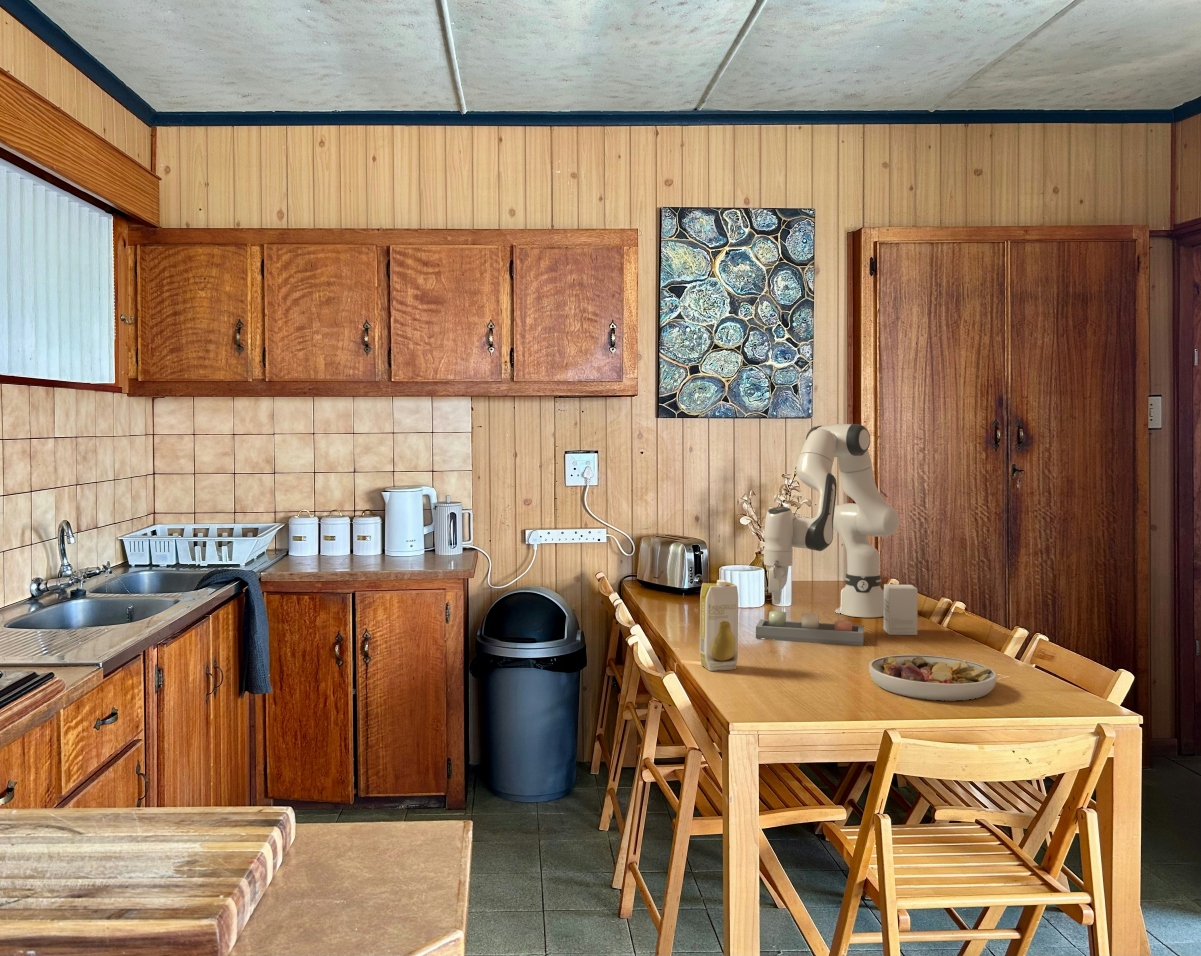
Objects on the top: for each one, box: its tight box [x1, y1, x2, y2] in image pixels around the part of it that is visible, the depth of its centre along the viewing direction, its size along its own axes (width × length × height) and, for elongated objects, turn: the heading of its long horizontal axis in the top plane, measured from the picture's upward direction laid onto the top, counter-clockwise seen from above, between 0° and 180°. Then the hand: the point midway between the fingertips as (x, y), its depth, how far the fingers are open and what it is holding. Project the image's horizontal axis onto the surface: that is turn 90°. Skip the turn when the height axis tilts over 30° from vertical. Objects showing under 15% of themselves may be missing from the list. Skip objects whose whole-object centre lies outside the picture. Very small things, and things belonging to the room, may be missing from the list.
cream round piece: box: [801, 612, 820, 629], centre depth 291 cm, size 5×5×4 cm
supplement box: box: [883, 583, 919, 636], centre depth 300 cm, size 9×9×15 cm
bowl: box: [868, 654, 997, 702], centre depth 235 cm, size 30×30×8 cm
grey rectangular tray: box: [755, 618, 865, 647], centre depth 291 cm, size 12×32×4 cm, turn 74°
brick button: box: [834, 620, 853, 631], centre depth 288 cm, size 5×5×4 cm
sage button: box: [768, 610, 787, 627], centre depth 294 cm, size 5×5×4 cm
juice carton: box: [699, 579, 739, 672], centre depth 252 cm, size 9×8×24 cm
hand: (777, 603), depth 293 cm, fingers closed
